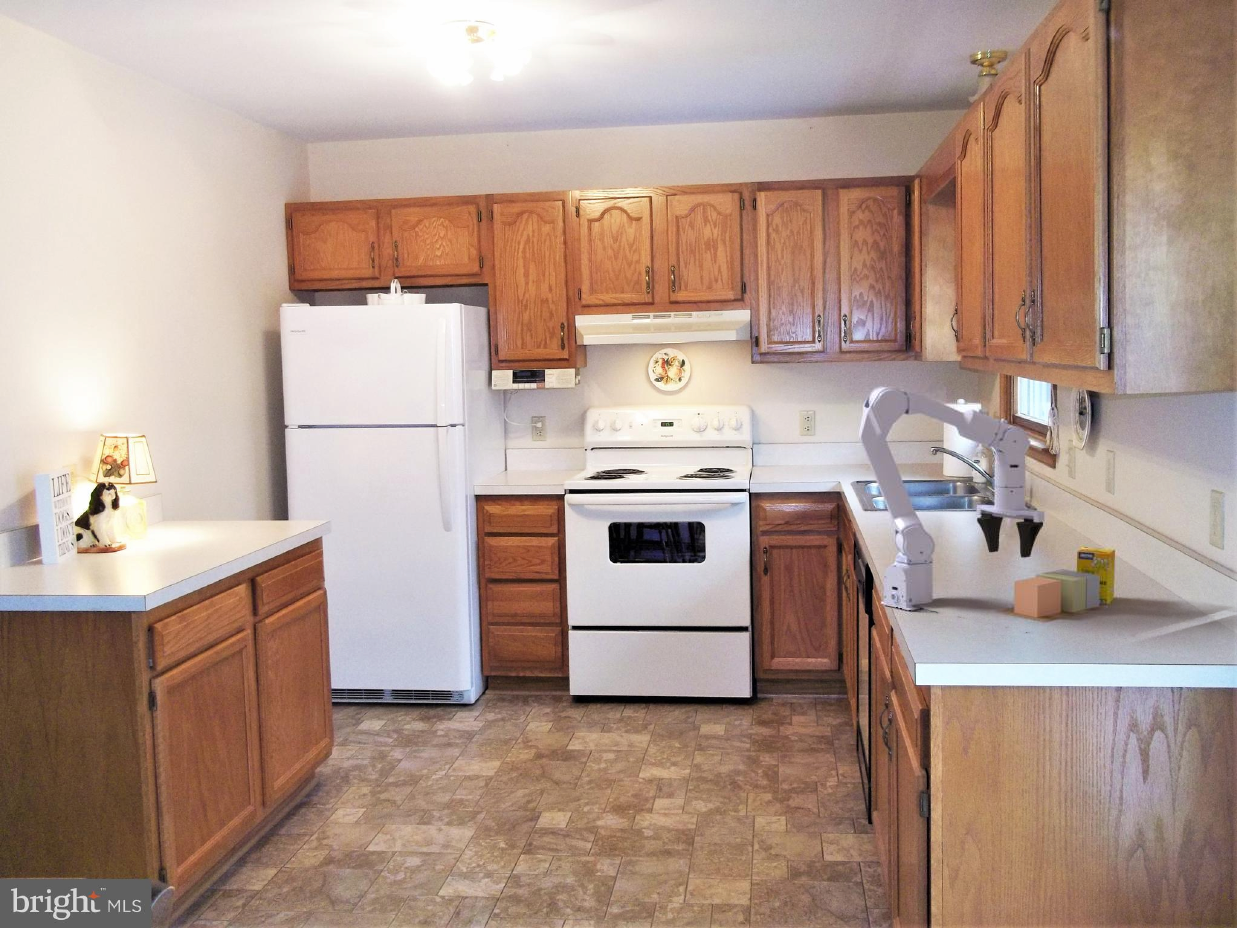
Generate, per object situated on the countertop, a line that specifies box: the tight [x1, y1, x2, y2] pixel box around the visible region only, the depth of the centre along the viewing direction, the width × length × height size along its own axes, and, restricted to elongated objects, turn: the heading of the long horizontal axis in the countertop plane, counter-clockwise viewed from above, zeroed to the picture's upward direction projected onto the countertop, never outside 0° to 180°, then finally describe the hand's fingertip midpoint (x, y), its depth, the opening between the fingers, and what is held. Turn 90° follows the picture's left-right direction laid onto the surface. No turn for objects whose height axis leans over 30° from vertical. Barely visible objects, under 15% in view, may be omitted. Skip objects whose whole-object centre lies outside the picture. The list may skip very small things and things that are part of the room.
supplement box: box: [1076, 546, 1116, 605], centre depth 216 cm, size 6×6×11 cm
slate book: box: [1050, 568, 1100, 609], centre depth 213 cm, size 4×8×6 cm, turn 33°
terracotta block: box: [1013, 576, 1061, 617], centre depth 207 cm, size 7×5×6 cm
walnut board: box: [993, 604, 1109, 623], centre depth 209 cm, size 20×11×1 cm, turn 123°
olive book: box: [1035, 571, 1086, 612], centre depth 210 cm, size 4×8×6 cm, turn 33°
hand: (1009, 554), depth 218 cm, fingers open, 7 cm apart
